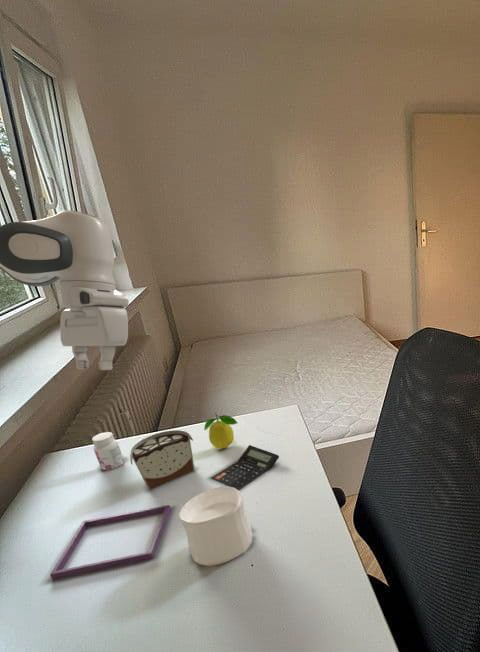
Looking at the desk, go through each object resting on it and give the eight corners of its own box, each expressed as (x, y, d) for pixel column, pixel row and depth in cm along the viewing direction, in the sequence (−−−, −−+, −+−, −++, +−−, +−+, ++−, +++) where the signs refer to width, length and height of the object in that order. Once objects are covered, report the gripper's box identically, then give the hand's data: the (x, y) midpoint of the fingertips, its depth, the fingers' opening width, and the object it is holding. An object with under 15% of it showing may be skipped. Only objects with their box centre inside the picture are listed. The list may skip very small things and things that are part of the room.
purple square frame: (54, 583, 72) (49, 574, 71) (86, 529, 84) (83, 521, 83) (154, 562, 75) (151, 553, 74) (172, 512, 87) (169, 504, 86)
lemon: (243, 447, 109) (234, 411, 105) (221, 458, 105) (211, 420, 101) (229, 439, 113) (221, 404, 109) (207, 449, 109) (197, 413, 105)
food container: (191, 460, 104) (180, 423, 100) (201, 470, 100) (191, 432, 96) (134, 484, 97) (120, 445, 93) (143, 496, 92) (128, 456, 88)
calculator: (211, 481, 96) (207, 469, 95) (253, 454, 105) (250, 444, 104) (239, 493, 91) (236, 481, 90) (281, 465, 100) (278, 453, 99)
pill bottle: (97, 472, 102) (84, 441, 99) (112, 461, 106) (101, 430, 103) (115, 473, 101) (102, 442, 98) (130, 461, 105) (119, 431, 102)
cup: (265, 538, 79) (254, 493, 75) (220, 579, 71) (206, 531, 67) (228, 522, 83) (216, 480, 79) (181, 560, 75) (166, 514, 71)
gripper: (48, 300, 90) (53, 369, 91) (96, 294, 79) (100, 371, 80) (84, 303, 95) (88, 367, 96) (133, 297, 84) (137, 369, 85)
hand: (94, 369), depth 88 cm, fingers open, 8 cm apart
